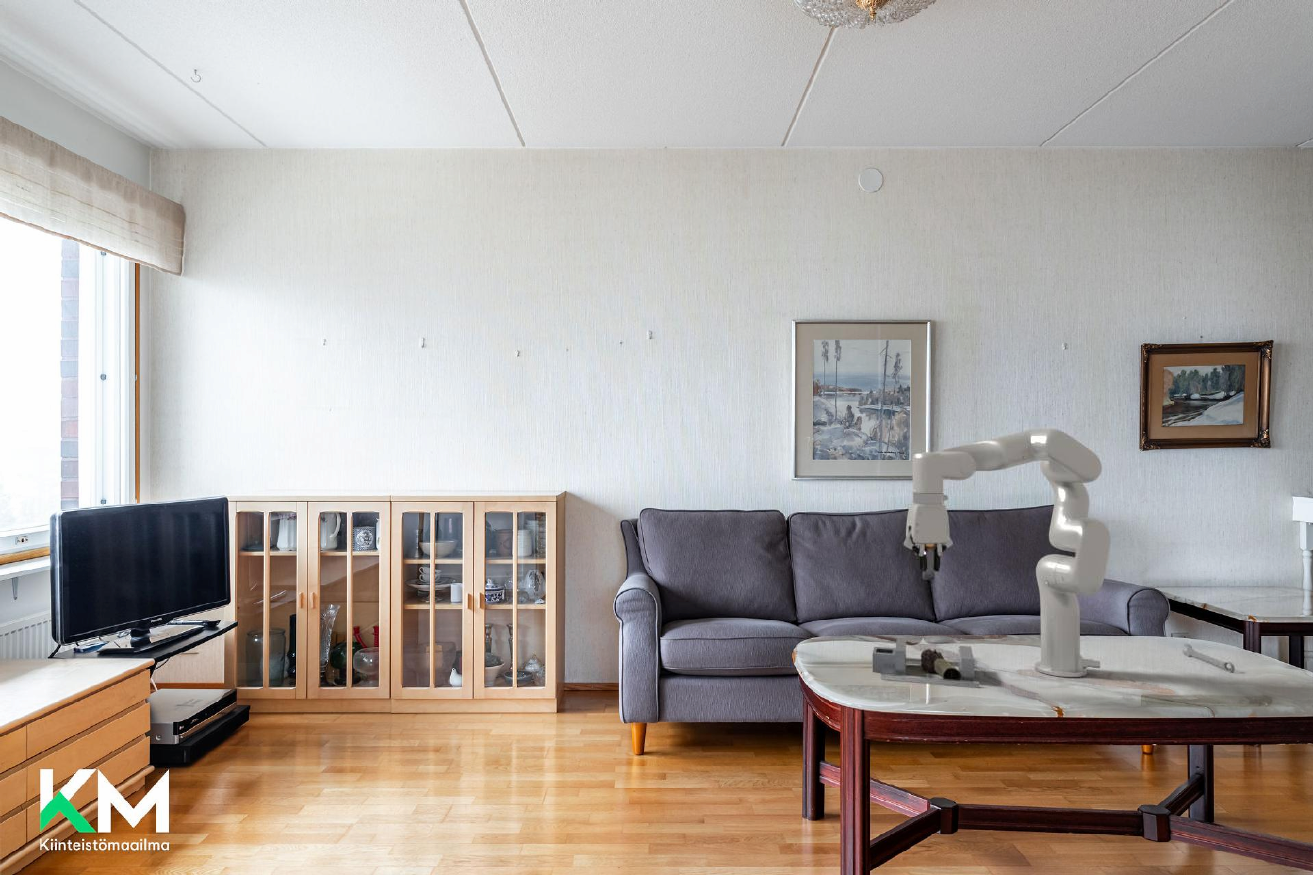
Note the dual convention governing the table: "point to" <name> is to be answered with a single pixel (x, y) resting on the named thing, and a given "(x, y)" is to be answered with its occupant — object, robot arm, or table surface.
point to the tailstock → (890, 659)
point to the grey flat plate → (930, 680)
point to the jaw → (966, 663)
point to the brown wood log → (938, 665)
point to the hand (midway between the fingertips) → (928, 570)
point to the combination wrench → (1207, 658)
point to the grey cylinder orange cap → (929, 562)
